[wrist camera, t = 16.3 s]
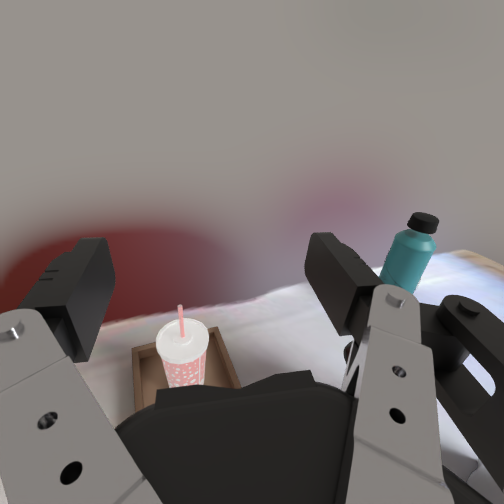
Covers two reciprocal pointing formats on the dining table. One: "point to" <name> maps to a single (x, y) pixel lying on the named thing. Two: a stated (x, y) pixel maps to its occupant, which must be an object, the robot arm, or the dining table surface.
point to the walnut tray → (154, 377)
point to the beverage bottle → (410, 252)
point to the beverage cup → (183, 350)
